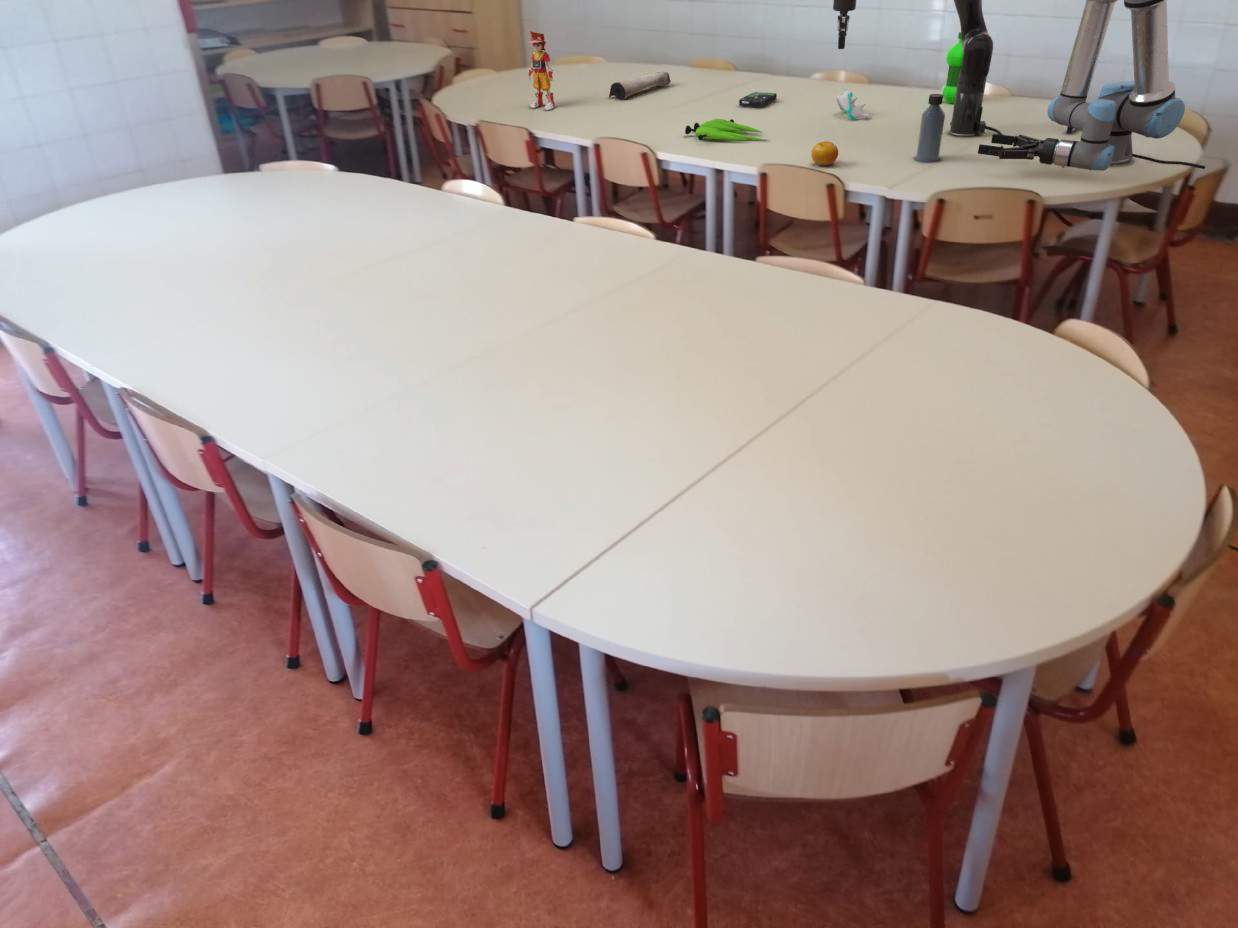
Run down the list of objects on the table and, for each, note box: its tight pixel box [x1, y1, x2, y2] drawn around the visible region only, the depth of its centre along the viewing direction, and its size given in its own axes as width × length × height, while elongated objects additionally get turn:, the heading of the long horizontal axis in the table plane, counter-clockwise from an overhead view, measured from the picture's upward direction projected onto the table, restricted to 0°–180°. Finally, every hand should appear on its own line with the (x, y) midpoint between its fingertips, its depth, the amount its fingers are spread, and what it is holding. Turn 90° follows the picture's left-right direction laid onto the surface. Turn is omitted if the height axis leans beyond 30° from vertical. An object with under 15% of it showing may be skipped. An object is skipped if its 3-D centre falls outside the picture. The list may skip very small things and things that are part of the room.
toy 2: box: [684, 118, 766, 141], centre depth 330 cm, size 28×5×30 cm
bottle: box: [915, 104, 946, 163], centre depth 291 cm, size 7×7×20 cm
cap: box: [927, 93, 944, 106], centre depth 286 cm, size 4×4×2 cm
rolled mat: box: [608, 71, 672, 101], centre depth 395 cm, size 30×9×10 cm
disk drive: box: [738, 91, 778, 109], centre depth 368 cm, size 10×3×15 cm
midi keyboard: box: [1066, 126, 1076, 134], centre depth 315 cm, size 18×1×5 cm, turn 138°
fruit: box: [810, 140, 839, 166], centre depth 296 cm, size 8×8×8 cm
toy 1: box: [527, 31, 556, 111], centre depth 374 cm, size 12×9×30 cm
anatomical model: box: [836, 89, 870, 121], centre depth 344 cm, size 15×10×10 cm
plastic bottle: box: [942, 31, 963, 104], centre depth 348 cm, size 10×10×25 cm
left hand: (841, 46), depth 311 cm, fingers open, 8 cm apart
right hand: (985, 143), depth 284 cm, fingers open, 13 cm apart
